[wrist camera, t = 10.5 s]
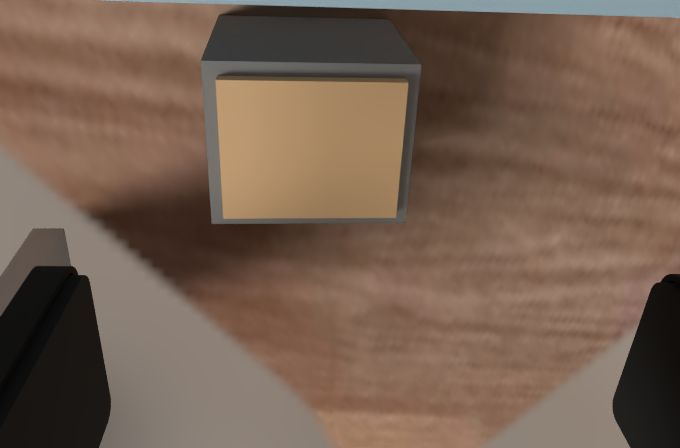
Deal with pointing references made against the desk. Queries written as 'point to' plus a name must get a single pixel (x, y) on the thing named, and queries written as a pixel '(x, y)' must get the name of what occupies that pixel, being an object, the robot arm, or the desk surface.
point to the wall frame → (33, 260)
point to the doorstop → (308, 120)
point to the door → (482, 5)
